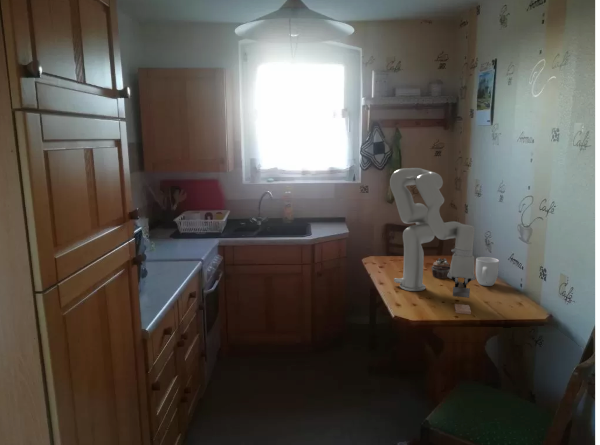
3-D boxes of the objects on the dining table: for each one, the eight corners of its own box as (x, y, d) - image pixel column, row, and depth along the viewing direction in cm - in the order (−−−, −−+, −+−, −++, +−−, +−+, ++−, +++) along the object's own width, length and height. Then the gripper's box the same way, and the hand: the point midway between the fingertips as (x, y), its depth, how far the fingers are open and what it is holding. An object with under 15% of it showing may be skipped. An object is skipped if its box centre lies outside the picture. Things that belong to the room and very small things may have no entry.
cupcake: (445, 273, 261) (446, 256, 259) (452, 278, 252) (453, 260, 250) (428, 273, 261) (429, 256, 259) (434, 279, 251) (435, 260, 249)
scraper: (452, 295, 210) (453, 286, 209) (451, 290, 221) (451, 281, 221) (469, 297, 208) (470, 287, 208) (466, 292, 220) (467, 282, 219)
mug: (494, 291, 231) (496, 265, 229) (471, 287, 237) (472, 262, 234) (498, 283, 244) (500, 258, 242) (476, 279, 249) (478, 255, 247)
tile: (454, 307, 210) (455, 313, 203) (454, 304, 210) (456, 310, 202) (468, 308, 209) (470, 315, 201) (469, 305, 209) (470, 311, 201)
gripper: (445, 253, 210) (442, 292, 213) (483, 255, 206) (479, 296, 209) (444, 248, 217) (441, 287, 220) (481, 251, 213) (477, 290, 216)
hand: (460, 291), depth 215 cm, fingers closed on scraper, 2 cm apart
